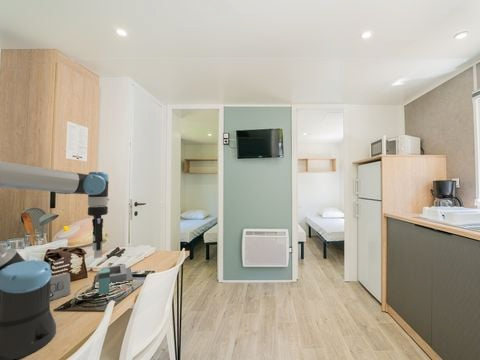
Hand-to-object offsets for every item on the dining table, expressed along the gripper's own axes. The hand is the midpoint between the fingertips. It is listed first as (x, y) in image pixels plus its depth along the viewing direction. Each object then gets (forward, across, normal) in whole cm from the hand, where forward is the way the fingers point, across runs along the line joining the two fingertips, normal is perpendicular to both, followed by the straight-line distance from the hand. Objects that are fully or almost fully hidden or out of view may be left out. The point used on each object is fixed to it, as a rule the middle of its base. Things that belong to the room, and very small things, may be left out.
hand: (96, 253), depth 96 cm
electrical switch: (+18, +6, +14) cm, 24 cm away
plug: (+18, -3, -3) cm, 18 cm away
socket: (+18, +13, -8) cm, 23 cm away
